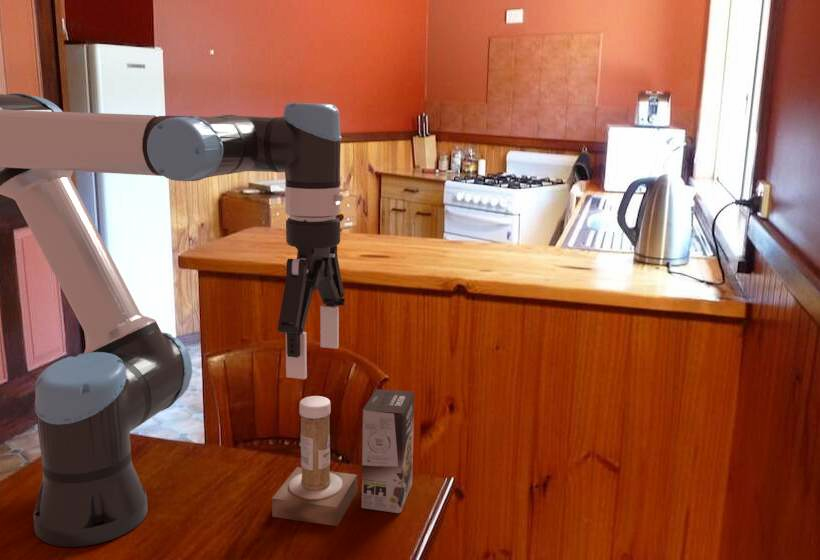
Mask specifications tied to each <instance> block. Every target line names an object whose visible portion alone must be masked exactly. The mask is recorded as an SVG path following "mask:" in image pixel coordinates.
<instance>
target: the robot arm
mask: <svg viewBox="0 0 820 560" xmlns="http://www.w3.org/2000/svg"><path fill="white" fill-rule="evenodd" d="M282 115H283V116H276V117H270V116H269V117H268V116H253V115H252V116H249V115H236V114H222V115H212V116H194V115H193V116H192V115H188V116H187V115H156V114H154V115H153V114H131V113H130V114H128V113H126V114H125V113H102V112H101V113H99V112H97V113H96V112H75V111H63V110H62V109H61V108H60V107H59V106H58V105H56V104H55V103H54V102H52V101H50V100H49V99H47V98H44V97H41V96H36V95H30V94H27V93H15V92H14V93H8V94H2V93H1V94H0V195H1V196H4V197H6V198H9V199H13V200H14V201H15V203H16V204H17V206H18V208H19V210H20V212H21V214H22V216H23V219H24V220H25V222H26V224H27V225H28V228H29V229H30V231H31V233H32V235H33V237H34V240H35V241H36V243H37V245H38V246H39V249H40V251H41V252H42V254H43V256H44V258H45V260H46V261H47V264H48V265H49V267H50V269H51V271H52V273H53V275H54V277H55V278H56V280H57V282H58V284H59V286H60V289H61V290H62V291H63V294H64V296H65V298H66V300H67V301H68V303H69V305H70V307H71V309H72V310H73V313H74V315H75V317H76V319H77V320H78V322H79V324H80V326H81V328H82V330H83V332H84V334H85V336H86V338H87V344H86V346H85V349H84V352H83V353H79V354H78V355H77V356H68V357H66V358H62V359H60V360H58V361H56V362H53V363H52V364H50V365H49V366H48V367H46V368H45V369H44V370H42V372H41V373H40V374H39V376H38V377H37V379H36V382H35V388H34V389H35V390H34V391H35V392H34V393H35V398H34V412H35V413H36V414H35V415H36V423H37V431H38V432H37V433H38V440H39V450H40V458H41V466H42V467H41V468H42V480H41V484H40V489H39V491H38V496H37V500H36V502H35V507H34V510H33V517H32V518H33V526H34V527H33V528H34V533H35V535H36V536H37V538H38V539H39V540H41V541H43V542H44V543H46V544H49V545H53V546H56V547H62V548H63V547H65V548H67V547H68V548H75V547H77V548H79V547H80V548H81V547H87V546H92V545H93V546H95V545H98V544H101V543H106V542H109V541H112V540H115V539H117V538H119V537H121V536H123V535H125V534H127V533H129V532H130V531H132V530H133V529H135V528H136V527H137V526H138V525H140V524H141V523H142V522H143V520H144V519H145V517H146V516H147V514H148V511H149V510H148V497H147V496H148V495H147V492H146V490H145V488H144V485H142V483H141V481H140V478H139V476H138V473H137V471H136V469H135V467H134V464H133V462H132V461H133V460H132V452H131V451H132V449H131V436H130V434H131V432H132V431H133V430H136V428H138V427H139V426H141V425H142V424H144V423H146V422H148V420H150V419H151V418H153V417H154V416H155V415H157V414H158V413H160V412H163V411H164V410H167V409H169V408H170V407H172V406H173V404H175V403H176V401H177V400H179V399H180V398H181V397H182V396H183V395H184V394H185V393H186V391H187V390H188V388H189V387H190V382H191V380H192V377H193V364H192V359H191V356H190V353H189V351H188V348H187V347H186V346H185V345H184V343H183V341H181V340H180V338H178V337H174V336H173V335H172V334H170V333H167V332H164V331H163V332H162V330H161V328H160V327H159V324H158V323H157V320H155V319H154V318H151V317H149V316H145V315H143V314H142V313H141V312H140V310H139V308H138V306H137V304H136V301H135V300H134V298H133V296H132V294H131V292H130V290H129V289H128V286H127V284H126V282H125V280H124V279H123V277H122V275H121V273H120V271H119V269H118V268H117V265H116V263H115V262H114V260H113V258H112V255H111V253H110V252H109V250H108V247H107V246H106V244H105V242H104V240H103V238H102V236H101V234H100V232H99V231H98V228H97V227H96V225H95V223H94V220H93V219H92V217H91V215H90V213H89V211H88V209H87V207H86V206H85V204H84V201H83V199H82V198H81V196H80V194H79V192H78V190H77V187H76V186H75V184H74V182H73V179H72V176H73V173H74V172H81V173H82V172H83V173H85V172H87V173H100V174H102V173H103V174H121V175H124V174H125V175H136V176H139V175H140V176H141V175H142V176H159V177H164V178H166V179H169V180H171V181H177V182H199V181H201V180H203V179H206V178H211V177H218V176H224V175H226V176H227V175H230V174H231V175H232V174H237V173H244V172H268V173H270V172H272V173H284V176H285V177H284V179H285V183H284V184H285V187H284V189H285V191H284V192H285V201H284V204H285V208H284V210H285V214H286V215H287V216H289V217H288V218H287V220H285V236H286V237H285V238H286V239H285V241H286V244H287V245H288V246H291V248H292V247H295V248H296V249H297V253H296V258H287V260H286V276H285V281H284V282H285V283H284V289H283V294H282V300H281V306H280V307H281V308H280V312H279V319H278V325H277V331H278V333H282V334H285V374H286V375H285V377H286V378H291V379H299V380H306V379H307V377H308V370H307V367H308V365H307V364H308V357H307V356H308V355H307V354H308V353H307V349H308V348H307V346H308V345H307V342H308V341H307V337H308V336H307V331H304V329H305V325H306V322H307V318H308V315H309V310H310V307H311V302H312V300H313V299H312V298H313V293H314V291H316V290H317V291H318V294H319V297H320V298H321V301H322V305H320V306H319V307H320V311H319V312H320V313H319V314H320V316H319V317H320V322H319V323H320V324H319V325H320V331H319V332H320V348H324V349H325V348H327V349H336V350H338V348H339V347H340V345H339V343H340V342H339V341H340V339H339V338H340V335H339V334H340V331H339V329H340V324H339V323H340V311H339V310H340V307H339V306H341V307H343V306H345V303H346V299H345V298H344V297H345V292H344V286H343V281H342V275H341V271H340V264H339V259H338V258H339V257H338V245H339V244H340V243H341V220H340V219H339V217H337V216H338V215H340V213H341V202H342V201H343V200H344V195H343V194H341V193H340V191H341V179H340V178H341V149H342V148H341V145H342V143H341V141H342V135H341V123H340V122H341V121H340V111H339V109H338V108H337V106H336V105H334V104H330V103H309V102H306V103H303V102H301V103H299V102H289V103H286V104H285V106H284V112H283V114H282ZM323 304H324V305H323Z"/></svg>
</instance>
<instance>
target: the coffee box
mask: <svg viewBox="0 0 820 560" xmlns="http://www.w3.org/2000/svg"><path fill="white" fill-rule="evenodd" d="M414 412H415V391H406V390H398V389H397V390H396V389H394V390H393V389H389V390H388V389H381V388H380V389H379V388H376V389H375V391H374V392H373V393H372V395H371V396H370V398H369V400H367V403H366V404H365V406H364V407H363V409H362V430H361V431H362V433H361V434H362V437H361V438H362V439H361V441H362V442H361V443H362V444H361V451H362V453H361V508H362V509H366V510H374V511H381V512H388V513H393V514H400V513H402V510H403V508H404V506H405V503H406V500H407V499H408V495H409V493H410V490H411V488H412V485H413V468H414V467H413V465H414V464H413V463H414V457H413V456H414V421H415V419H414V418H415V417H414V415H415V413H414Z"/></svg>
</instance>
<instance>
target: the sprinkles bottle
mask: <svg viewBox="0 0 820 560" xmlns="http://www.w3.org/2000/svg"><path fill="white" fill-rule="evenodd" d="M331 405H332V404H331V400H330V399H329V398H327V397H325V396H322V395H321V396H320V395H311V396H306V397H304V398H301V400H300V401H299V409H298V410H299V415H300V416H299V417H300V465H301V467H302V479H301V484H302V486H303V487H305V488H307V489H310V490H320V489H323V488H325V487H327V486H329V484H330V482H331V479H330V471H331V469H330V465H331V437H330V436H331V435H330V416H331V415H330V414H331Z"/></svg>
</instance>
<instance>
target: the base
mask: <svg viewBox="0 0 820 560" xmlns="http://www.w3.org/2000/svg"><path fill="white" fill-rule="evenodd" d="M301 479H302V466H301V467H300V466H297V467H296V468H295V469H294V470H293V472H291V474H290V475H289V476H288V477H287V479H286V480H284V483H283V484H282V485H281V486H280V487H279V489H278V490H277V491H276V492H275V493H274V495H273V496H272V498H271V512H272V513H271V514H272V518H279V519H280V518H281V519H286V520H293V521H300V522H305V523H306V522H307V523H313V524H314V523H315V524H320V525H328V526H333V527H338V525H340V521H341V520H342V518H343V517H344V515H345V514H346V512H347V510H348V509H349V507H350V505H351V503H352V501H353V500H354V498H355V496H356V495H357V493H358V474H355V473H347V472H339V471H332V470H330V479H331V482H330V484H329V486H327V487H325V488H323V489H320V490H310V489H307V488H305V487H303V486H302V484H301Z"/></svg>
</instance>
